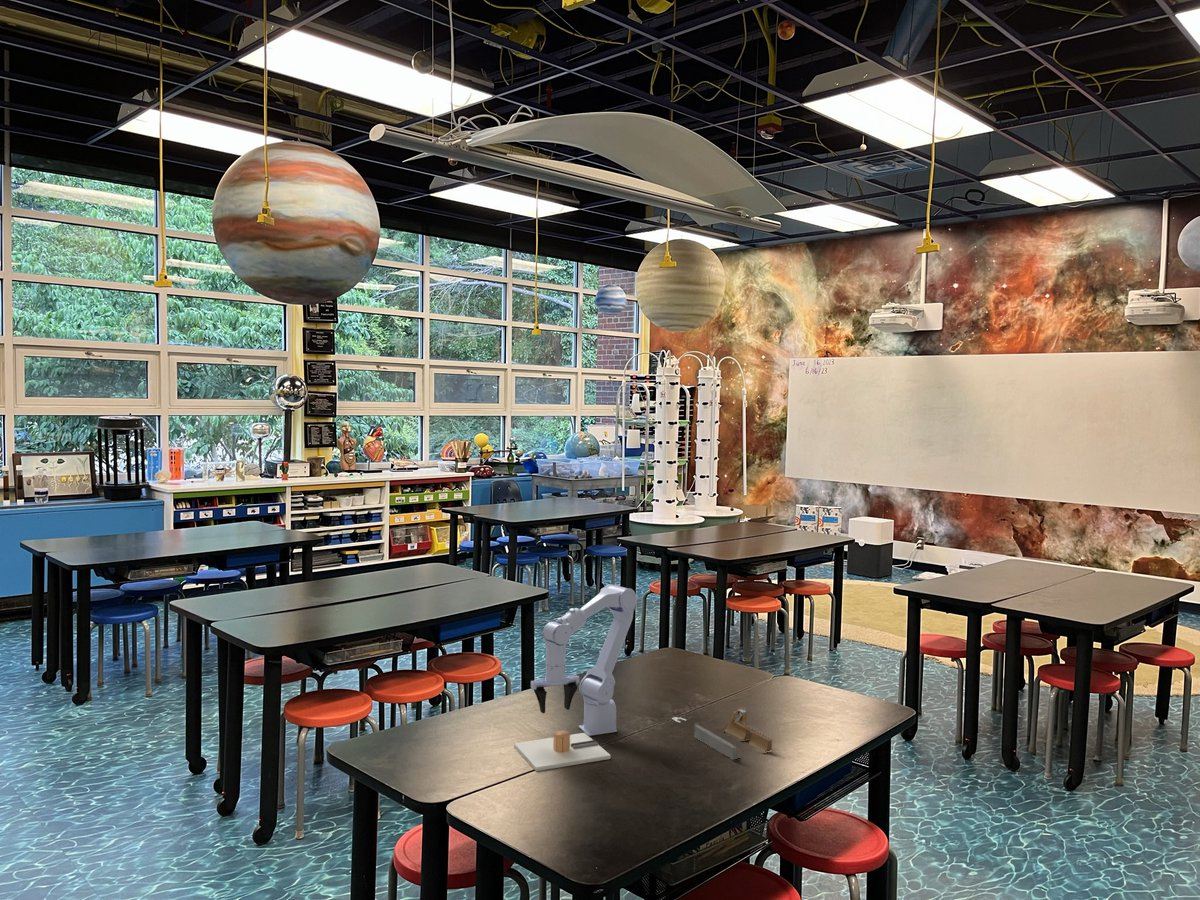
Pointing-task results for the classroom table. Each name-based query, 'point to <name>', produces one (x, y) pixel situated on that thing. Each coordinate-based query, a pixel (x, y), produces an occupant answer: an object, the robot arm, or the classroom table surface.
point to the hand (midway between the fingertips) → (554, 710)
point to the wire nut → (561, 741)
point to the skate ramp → (737, 730)
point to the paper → (678, 719)
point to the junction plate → (547, 758)
